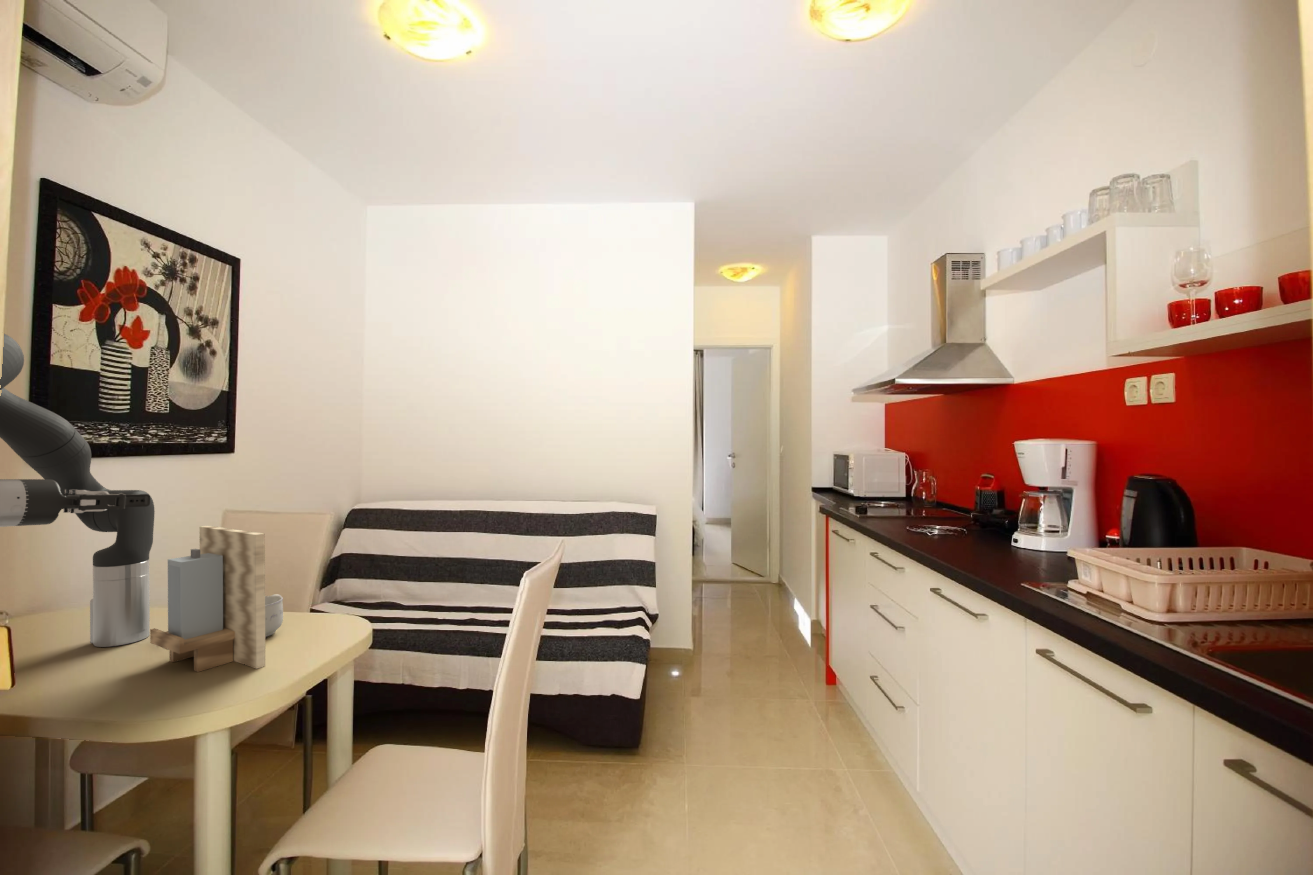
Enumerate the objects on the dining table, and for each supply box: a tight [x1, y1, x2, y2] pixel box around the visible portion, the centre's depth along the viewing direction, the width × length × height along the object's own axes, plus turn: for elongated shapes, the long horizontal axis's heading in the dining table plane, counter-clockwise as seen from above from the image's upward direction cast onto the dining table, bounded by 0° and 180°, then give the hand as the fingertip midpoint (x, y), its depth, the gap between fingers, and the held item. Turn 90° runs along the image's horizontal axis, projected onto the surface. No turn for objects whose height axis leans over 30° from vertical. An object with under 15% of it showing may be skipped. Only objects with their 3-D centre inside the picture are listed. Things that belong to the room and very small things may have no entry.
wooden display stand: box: [149, 525, 266, 673], centre depth 115 cm, size 22×11×26 cm, turn 61°
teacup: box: [265, 593, 284, 638], centre depth 133 cm, size 14×11×8 cm
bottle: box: [167, 548, 223, 640], centre depth 116 cm, size 6×7×17 cm
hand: (136, 499), depth 108 cm, fingers open, 8 cm apart
